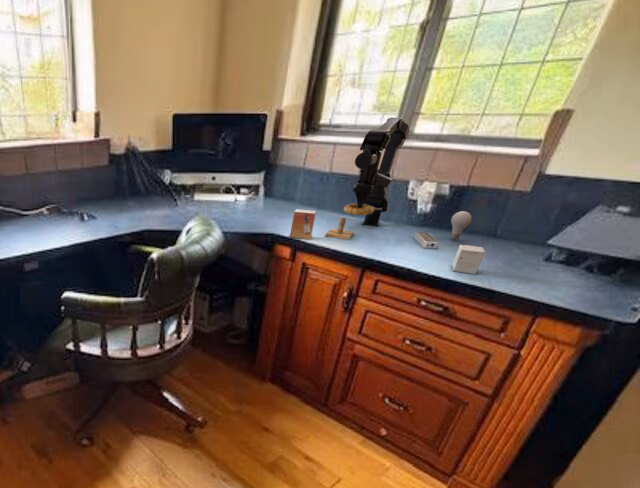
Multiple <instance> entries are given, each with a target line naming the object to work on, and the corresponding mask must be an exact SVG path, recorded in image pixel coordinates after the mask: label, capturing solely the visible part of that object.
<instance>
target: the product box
mask: <svg viewBox="0 0 640 488" xmlns="http://www.w3.org/2000/svg"><path fill="white" fill-rule="evenodd" d="M485 254H486V253H485V249H484V247H483V246H477V245H466V244H460V245H459V247H458V249H457V252H456V254H455V257H454V259H453V262H452V271H453V272H458V273H459V272H460V273H465V274H471V275H472V274H473V275H477V273H478V271H479V268H480V265H481V263H482V260H483V258H484V255H485Z"/></svg>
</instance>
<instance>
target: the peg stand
mask: <svg viewBox="0 0 640 488" xmlns="http://www.w3.org/2000/svg"><path fill="white" fill-rule="evenodd" d="M339 218H340V219H339V222H338V227H337V229H336V228H330V229H329V230H328V231H327V232H326V233H325V237H326V238H334V239H342V240H350V239H351V238H352V237H353V236H354V233H355V232H354V231H352V230H345V225H346V220H347V219H346V217H345V216H344V217H339Z"/></svg>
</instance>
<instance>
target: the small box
mask: <svg viewBox="0 0 640 488" xmlns="http://www.w3.org/2000/svg"><path fill="white" fill-rule="evenodd" d="M316 215H317V210H309V209H308V210H307V209H298V208H296V209H295V210H294V212H293V216H292V222H291V227H290V233H289V238H295V239H303V240H310V239H311V237H312V235H313V230H314V225H315V220H316Z"/></svg>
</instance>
